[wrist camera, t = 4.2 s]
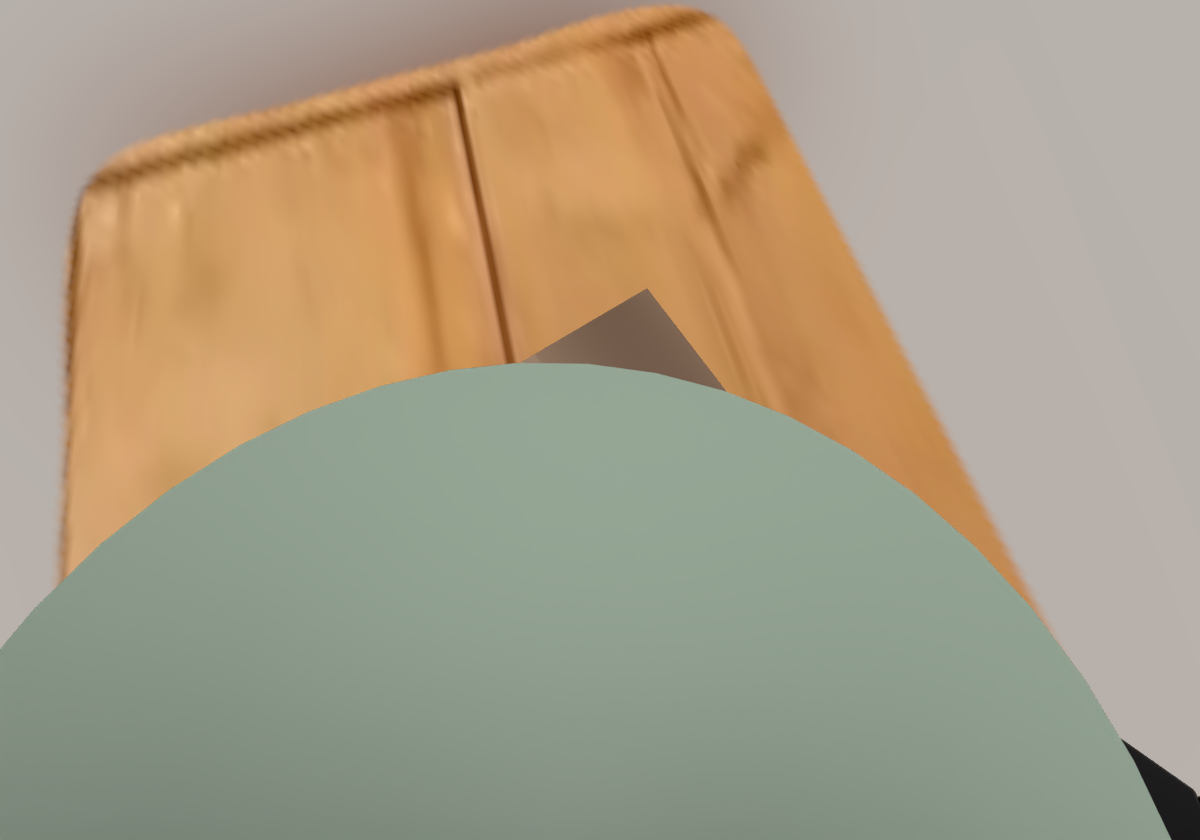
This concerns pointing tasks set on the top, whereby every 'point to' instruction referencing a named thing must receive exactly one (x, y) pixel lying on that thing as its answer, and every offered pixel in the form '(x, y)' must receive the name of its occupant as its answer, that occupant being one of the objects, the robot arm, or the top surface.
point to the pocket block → (632, 343)
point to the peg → (549, 640)
